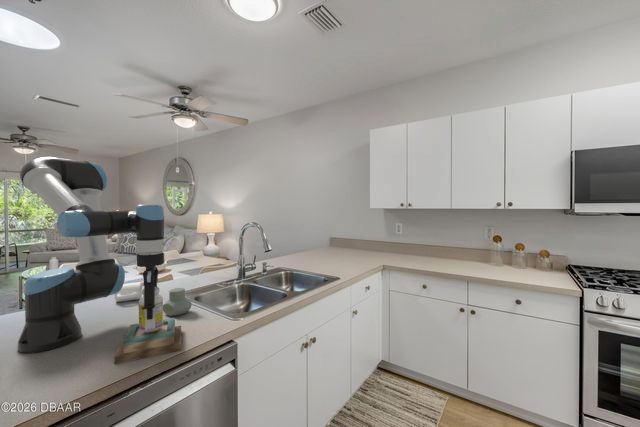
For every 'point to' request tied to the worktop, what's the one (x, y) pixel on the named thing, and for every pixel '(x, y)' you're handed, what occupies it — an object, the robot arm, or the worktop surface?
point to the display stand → (149, 342)
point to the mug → (129, 292)
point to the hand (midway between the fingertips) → (151, 324)
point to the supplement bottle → (158, 312)
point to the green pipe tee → (177, 303)
